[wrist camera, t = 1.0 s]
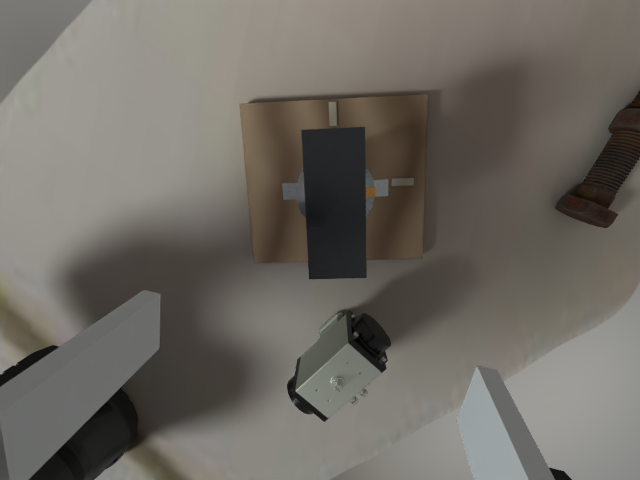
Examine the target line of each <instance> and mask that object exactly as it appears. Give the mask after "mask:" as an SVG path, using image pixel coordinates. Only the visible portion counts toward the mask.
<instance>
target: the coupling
mask: <svg viewBox="0 0 640 480" xmlns="http://www.w3.org/2000/svg"><path fill="white" fill-rule="evenodd" d="M301 135H302V154H303V171H302V172H301V174H300V176H299V178H298V182H284V183H282V186H283V200H296V199H297V203H298V206H299V209H300V211H301V213H302V214H303V216H304V217H305V218H306V229H307V248H308V267H309V279H337V278H367V276H366V216H367V215H368V213H369V212H370V210H371V208H372V205H373V202H374V198H375V197H377V196H388V179H387V178H376V179H373V178H372V176H371V174H370V172H369V170H368V169H367V168H366V166H365V127H349V128H328V129H307V130H301Z"/></svg>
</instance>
